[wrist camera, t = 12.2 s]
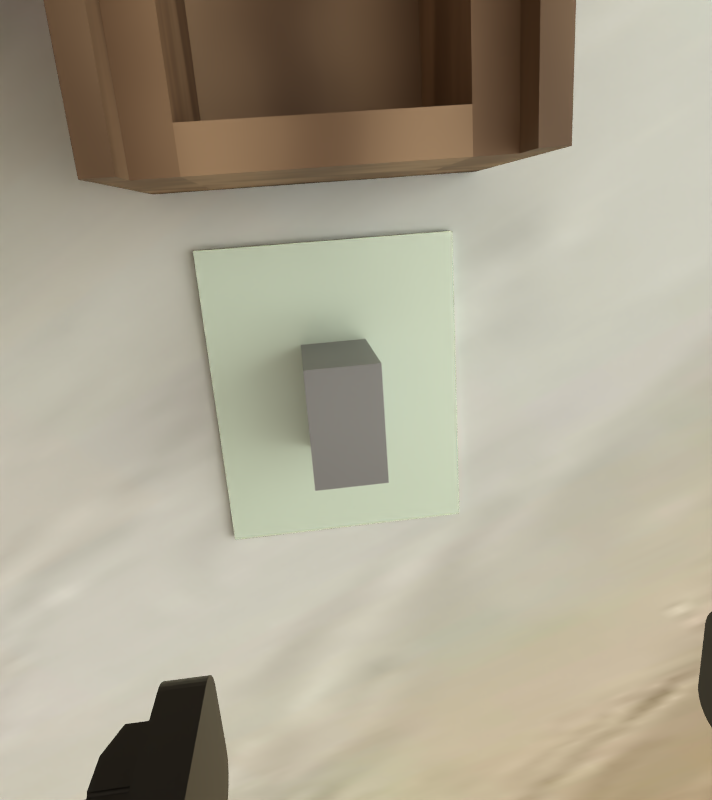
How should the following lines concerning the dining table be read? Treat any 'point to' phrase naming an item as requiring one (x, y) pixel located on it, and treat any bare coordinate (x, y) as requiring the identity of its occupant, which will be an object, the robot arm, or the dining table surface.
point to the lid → (333, 380)
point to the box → (308, 88)
